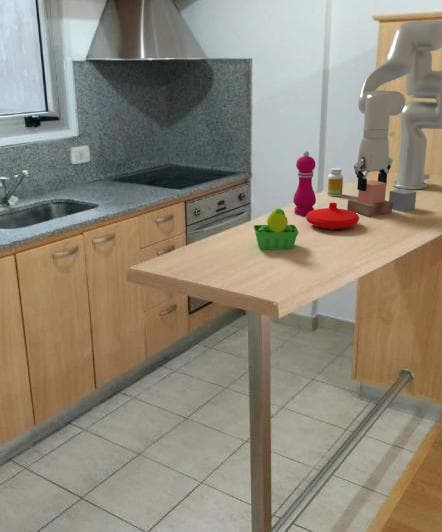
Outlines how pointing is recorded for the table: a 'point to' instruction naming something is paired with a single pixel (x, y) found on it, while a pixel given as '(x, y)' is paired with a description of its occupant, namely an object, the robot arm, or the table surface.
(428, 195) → the table surface
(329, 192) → the supplement bottle
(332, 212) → the flat cone with hole
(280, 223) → the fruit basket
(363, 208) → the walnut block
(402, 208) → the grey cube
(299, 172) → the pepper mill
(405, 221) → the table surface
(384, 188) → the salmon pink cube
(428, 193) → the table surface
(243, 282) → the table surface
